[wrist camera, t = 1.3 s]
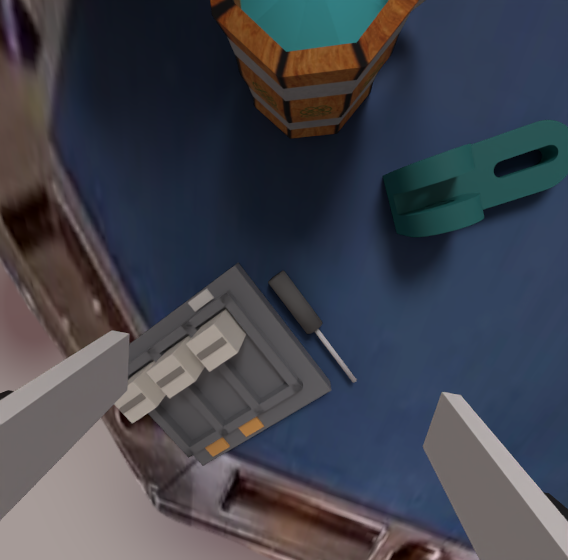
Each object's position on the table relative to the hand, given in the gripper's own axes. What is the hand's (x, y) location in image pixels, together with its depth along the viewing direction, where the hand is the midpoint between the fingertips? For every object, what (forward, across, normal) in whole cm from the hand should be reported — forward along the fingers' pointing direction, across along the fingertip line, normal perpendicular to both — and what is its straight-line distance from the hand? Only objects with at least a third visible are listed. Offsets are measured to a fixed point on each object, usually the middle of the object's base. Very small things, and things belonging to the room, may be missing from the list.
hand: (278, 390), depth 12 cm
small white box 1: (+22, -16, -17) cm, 32 cm away
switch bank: (+24, -8, -15) cm, 29 cm away
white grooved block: (+22, -12, -13) cm, 28 cm away
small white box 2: (+22, -7, -8) cm, 24 cm away
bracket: (+25, +17, +14) cm, 33 cm away
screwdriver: (+24, +4, -7) cm, 25 cm away
